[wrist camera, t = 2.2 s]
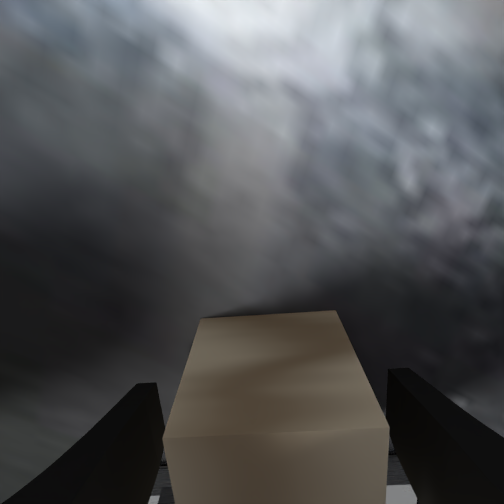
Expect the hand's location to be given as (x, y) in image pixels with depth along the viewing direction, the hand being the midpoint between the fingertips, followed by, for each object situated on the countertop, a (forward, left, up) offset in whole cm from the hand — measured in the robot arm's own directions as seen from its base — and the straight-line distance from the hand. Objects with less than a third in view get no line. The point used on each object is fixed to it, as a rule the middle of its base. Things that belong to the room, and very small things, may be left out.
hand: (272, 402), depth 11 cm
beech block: (0, 0, -2) cm, 2 cm away
